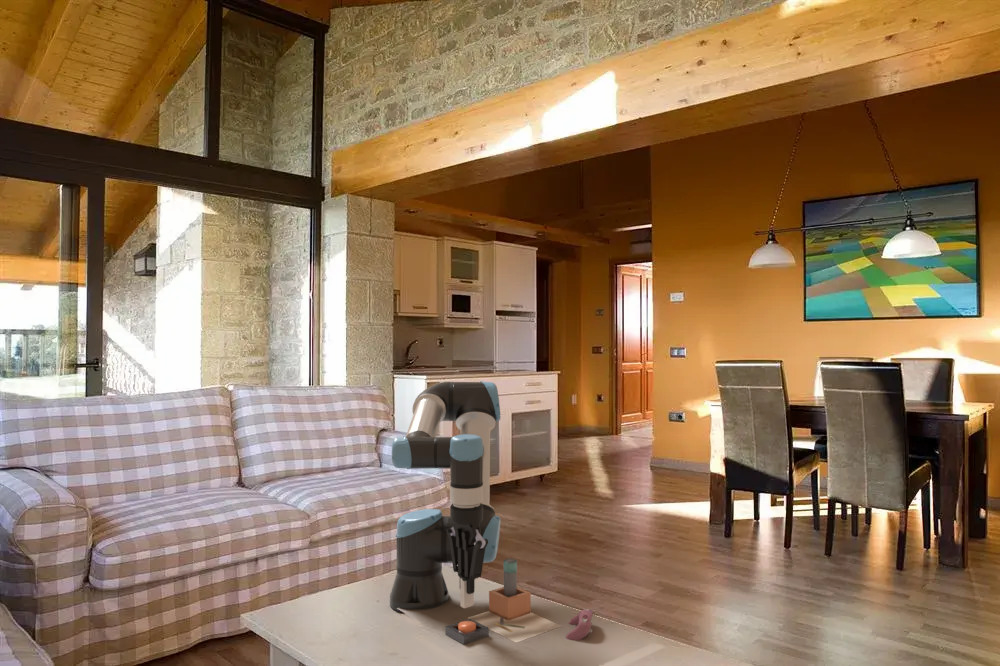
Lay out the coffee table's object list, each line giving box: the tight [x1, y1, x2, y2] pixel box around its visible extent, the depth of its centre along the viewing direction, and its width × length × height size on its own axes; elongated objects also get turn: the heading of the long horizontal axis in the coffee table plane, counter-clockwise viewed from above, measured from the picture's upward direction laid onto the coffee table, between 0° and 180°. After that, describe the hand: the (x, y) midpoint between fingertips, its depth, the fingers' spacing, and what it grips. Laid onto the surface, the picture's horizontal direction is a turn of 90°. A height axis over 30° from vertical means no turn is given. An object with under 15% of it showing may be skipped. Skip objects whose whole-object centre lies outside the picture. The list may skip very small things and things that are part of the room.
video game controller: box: [565, 607, 594, 641], centre depth 161 cm, size 10×5×7 cm, turn 170°
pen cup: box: [488, 586, 532, 621], centre depth 172 cm, size 7×7×5 cm
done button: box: [458, 620, 476, 633], centre depth 159 cm, size 4×4×2 cm
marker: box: [503, 558, 518, 597], centre depth 172 cm, size 3×3×12 cm
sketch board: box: [467, 610, 562, 644], centre depth 166 cm, size 20×16×1 cm
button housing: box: [445, 618, 490, 646], centre depth 159 cm, size 7×7×3 cm
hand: (467, 605), depth 161 cm, fingers closed
